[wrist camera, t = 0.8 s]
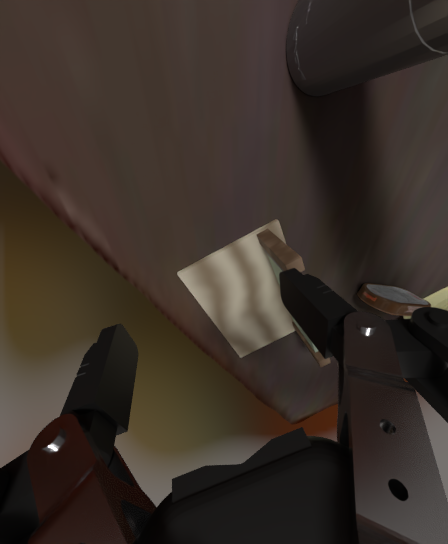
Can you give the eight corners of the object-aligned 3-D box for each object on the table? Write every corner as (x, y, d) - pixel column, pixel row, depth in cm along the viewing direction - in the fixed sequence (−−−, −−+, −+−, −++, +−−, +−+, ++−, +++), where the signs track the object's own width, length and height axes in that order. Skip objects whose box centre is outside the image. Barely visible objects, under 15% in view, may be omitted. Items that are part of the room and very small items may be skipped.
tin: (348, 290, 45) (380, 317, 38) (355, 278, 44) (391, 304, 37) (395, 295, 50) (432, 319, 43) (404, 284, 48) (443, 308, 41)
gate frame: (276, 219, 33) (316, 247, 24) (309, 320, 47) (341, 361, 38) (177, 272, 34) (179, 318, 25) (239, 355, 48) (255, 402, 39)
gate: (272, 242, 33) (299, 268, 26) (299, 318, 45) (323, 351, 38) (263, 247, 33) (287, 273, 26) (292, 322, 45) (315, 354, 38)
